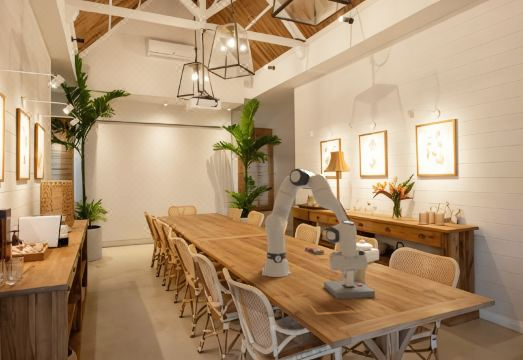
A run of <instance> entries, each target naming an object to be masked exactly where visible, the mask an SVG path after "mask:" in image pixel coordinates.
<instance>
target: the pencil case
mask: <svg viewBox="0 0 523 360" xmlns="http://www.w3.org/2000/svg"><path fill="white" fill-rule="evenodd" d="M304 251H305V252H307V253H310V254H313V255H316V256H321V255H325V250H323V249H320V248H316V247H306V248H305V250H304Z"/></svg>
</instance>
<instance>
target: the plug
mask: <svg viewBox="0 0 523 360" xmlns="http://www.w3.org/2000/svg"><path fill="white" fill-rule="evenodd" d="M343 273H344V274H345V275H346V278H343V281H344V284H345V285H346V286H354V272H353V270H344V272H343Z"/></svg>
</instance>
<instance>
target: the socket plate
mask: <svg viewBox="0 0 523 360" xmlns="http://www.w3.org/2000/svg"><path fill="white" fill-rule="evenodd" d="M323 287H324V288H325V290H327V291H328V292H329V293H330V294H331V295H332V296H333V297H334V298H336V299H337V300H345V299H361V298H364V299H365V298H375V297H376V290H374V289H373V288H371V287H370V286H369V285H366V284H365V283H362V282H360V281H359V280H354V286H346V285H345V284H344V280H335V281H334V280H332V281H331V280H330V281H323Z"/></svg>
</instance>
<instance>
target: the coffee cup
mask: <svg viewBox="0 0 523 360" xmlns="http://www.w3.org/2000/svg"><path fill="white" fill-rule="evenodd" d="M351 270H353V269H351ZM354 280H359V281H360V282H362V283H363V284H365V281H366V269H357V272H356V274H355V278H354Z"/></svg>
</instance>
